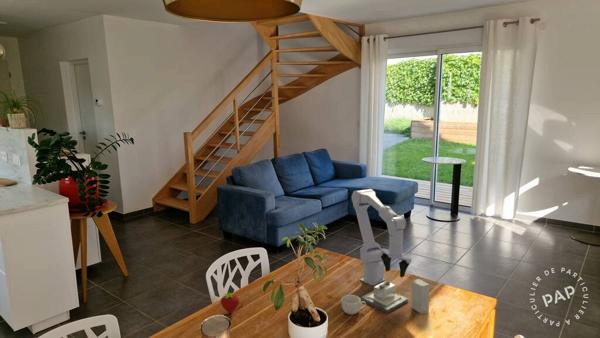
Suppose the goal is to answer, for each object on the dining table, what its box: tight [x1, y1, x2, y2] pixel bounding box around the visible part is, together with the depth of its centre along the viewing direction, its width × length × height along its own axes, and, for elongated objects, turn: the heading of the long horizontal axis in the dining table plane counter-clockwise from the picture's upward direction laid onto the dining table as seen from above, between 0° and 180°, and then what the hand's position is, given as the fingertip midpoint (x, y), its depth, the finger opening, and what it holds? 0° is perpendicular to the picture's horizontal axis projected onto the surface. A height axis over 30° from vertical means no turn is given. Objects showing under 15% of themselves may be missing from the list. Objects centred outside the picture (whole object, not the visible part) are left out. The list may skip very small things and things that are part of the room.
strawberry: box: [220, 292, 240, 314], centre depth 157 cm, size 6×8×10 cm
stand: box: [360, 290, 409, 314], centre depth 166 cm, size 14×14×2 cm
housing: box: [373, 280, 396, 302], centre depth 166 cm, size 5×8×6 cm, turn 130°
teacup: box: [341, 294, 367, 315], centre depth 158 cm, size 10×8×5 cm
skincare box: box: [411, 278, 430, 315], centre depth 158 cm, size 6×4×12 cm
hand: (394, 273), depth 169 cm, fingers open, 7 cm apart
